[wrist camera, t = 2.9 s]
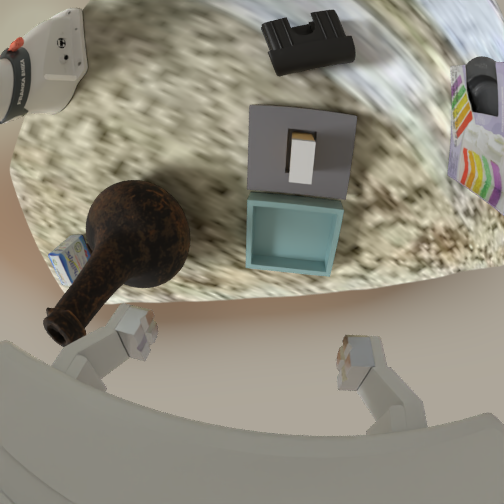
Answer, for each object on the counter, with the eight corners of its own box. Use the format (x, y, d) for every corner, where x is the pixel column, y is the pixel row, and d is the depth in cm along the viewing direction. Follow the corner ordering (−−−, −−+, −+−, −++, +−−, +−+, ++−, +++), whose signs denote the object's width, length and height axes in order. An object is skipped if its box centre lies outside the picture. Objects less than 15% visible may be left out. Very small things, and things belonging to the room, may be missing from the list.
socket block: (252, 104, 33) (249, 105, 31) (353, 115, 32) (357, 116, 30) (249, 184, 40) (247, 189, 38) (342, 193, 38) (345, 199, 36)
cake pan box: (446, 58, 23) (522, 54, 8) (470, 67, 22) (546, 71, 8) (442, 174, 33) (508, 225, 18) (465, 177, 32) (530, 228, 18)
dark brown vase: (100, 183, 43) (-15, 271, 20) (182, 157, 39) (49, 257, 15) (134, 263, 52) (58, 371, 29) (213, 255, 48) (150, 396, 24)
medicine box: (94, 263, 54) (73, 287, 47) (82, 263, 55) (61, 285, 48) (82, 233, 50) (58, 255, 43) (70, 234, 51) (46, 255, 44)
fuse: (292, 131, 34) (292, 139, 27) (311, 133, 34) (315, 142, 27) (289, 165, 37) (288, 182, 30) (308, 167, 37) (311, 184, 30)
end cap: (279, 79, 31) (275, 74, 25) (262, 35, 28) (256, 23, 22) (348, 65, 28) (360, 58, 22) (332, 21, 25) (340, 7, 19)
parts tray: (251, 191, 40) (247, 199, 37) (340, 200, 39) (344, 210, 36) (249, 255, 47) (245, 267, 44) (328, 264, 45) (329, 276, 42)
